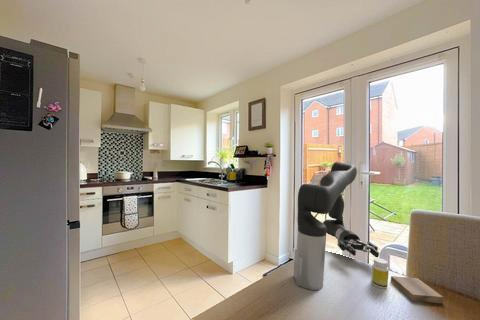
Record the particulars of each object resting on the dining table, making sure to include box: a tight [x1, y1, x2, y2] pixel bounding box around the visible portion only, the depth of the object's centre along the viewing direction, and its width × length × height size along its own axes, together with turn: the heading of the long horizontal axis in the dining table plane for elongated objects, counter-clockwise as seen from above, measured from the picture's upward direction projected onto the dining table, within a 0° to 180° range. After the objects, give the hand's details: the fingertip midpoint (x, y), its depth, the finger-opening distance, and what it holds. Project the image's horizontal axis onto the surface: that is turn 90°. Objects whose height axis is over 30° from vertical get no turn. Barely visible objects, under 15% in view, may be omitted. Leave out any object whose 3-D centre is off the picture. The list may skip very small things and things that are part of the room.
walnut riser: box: [390, 275, 444, 304], centre depth 70 cm, size 9×10×2 cm
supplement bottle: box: [370, 257, 389, 289], centre depth 73 cm, size 5×5×8 cm
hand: (366, 254), depth 82 cm, fingers open, 8 cm apart
